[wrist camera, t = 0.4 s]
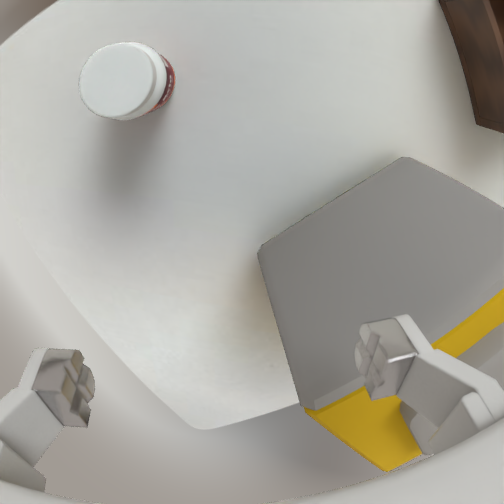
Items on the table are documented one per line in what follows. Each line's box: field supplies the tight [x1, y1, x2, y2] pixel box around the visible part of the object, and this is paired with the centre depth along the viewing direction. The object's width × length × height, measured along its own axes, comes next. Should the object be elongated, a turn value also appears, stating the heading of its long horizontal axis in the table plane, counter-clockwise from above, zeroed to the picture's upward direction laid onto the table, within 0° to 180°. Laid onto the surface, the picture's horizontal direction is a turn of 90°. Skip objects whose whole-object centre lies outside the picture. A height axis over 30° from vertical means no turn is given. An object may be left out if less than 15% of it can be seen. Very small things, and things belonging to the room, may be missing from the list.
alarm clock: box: [257, 157, 504, 472], centre depth 23 cm, size 20×16×18 cm
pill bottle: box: [79, 42, 175, 120], centre depth 17 cm, size 5×5×8 cm
